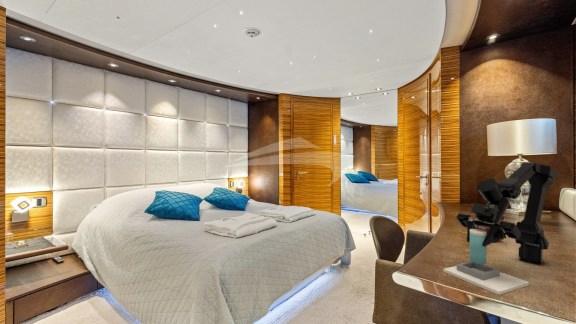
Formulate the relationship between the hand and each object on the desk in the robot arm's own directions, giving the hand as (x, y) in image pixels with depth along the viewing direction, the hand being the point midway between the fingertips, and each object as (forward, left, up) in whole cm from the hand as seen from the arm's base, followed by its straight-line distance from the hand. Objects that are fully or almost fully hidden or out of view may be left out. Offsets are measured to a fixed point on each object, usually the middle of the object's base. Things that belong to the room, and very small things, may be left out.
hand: (475, 243), depth 91 cm
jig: (-2, -1, -11) cm, 12 cm away
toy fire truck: (+11, -54, -12) cm, 57 cm away
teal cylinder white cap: (0, -1, -7) cm, 7 cm away
